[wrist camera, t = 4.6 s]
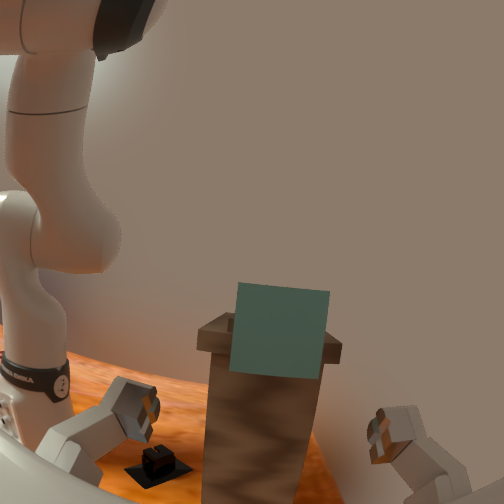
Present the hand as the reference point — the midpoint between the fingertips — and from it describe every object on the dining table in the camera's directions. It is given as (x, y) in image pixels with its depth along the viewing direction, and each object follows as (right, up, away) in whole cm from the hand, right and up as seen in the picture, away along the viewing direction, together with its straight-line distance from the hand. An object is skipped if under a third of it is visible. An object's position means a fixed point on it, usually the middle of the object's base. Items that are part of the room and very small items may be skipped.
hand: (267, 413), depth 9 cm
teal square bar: (+1, 0, +12) cm, 12 cm away
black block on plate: (-14, -28, +22) cm, 38 cm away
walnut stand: (-2, -27, +14) cm, 30 cm away
